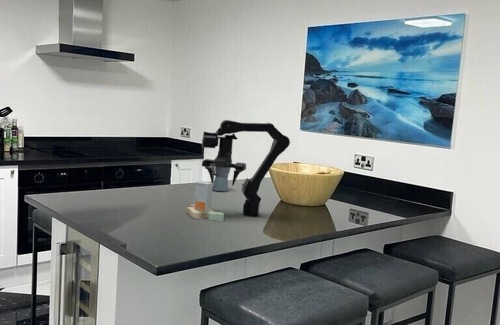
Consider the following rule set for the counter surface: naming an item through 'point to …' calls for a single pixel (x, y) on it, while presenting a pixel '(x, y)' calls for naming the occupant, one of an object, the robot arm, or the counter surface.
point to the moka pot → (221, 178)
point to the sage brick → (215, 216)
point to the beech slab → (198, 213)
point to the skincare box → (203, 196)
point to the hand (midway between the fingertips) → (222, 184)
